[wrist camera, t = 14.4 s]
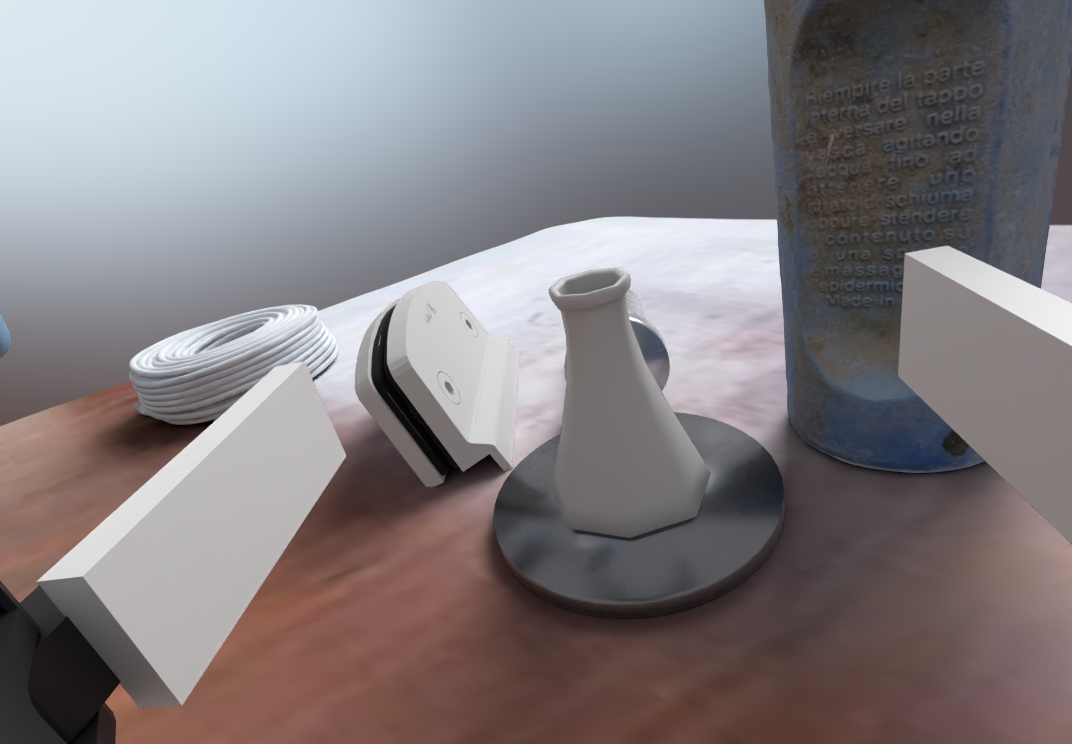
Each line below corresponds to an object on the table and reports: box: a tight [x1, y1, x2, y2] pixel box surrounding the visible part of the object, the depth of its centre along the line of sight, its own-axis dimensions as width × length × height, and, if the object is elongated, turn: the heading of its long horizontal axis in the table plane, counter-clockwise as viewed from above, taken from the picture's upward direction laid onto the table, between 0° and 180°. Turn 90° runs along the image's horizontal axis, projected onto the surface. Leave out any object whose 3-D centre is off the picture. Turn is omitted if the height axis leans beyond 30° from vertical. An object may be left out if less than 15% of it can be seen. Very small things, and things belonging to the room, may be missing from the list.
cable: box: [129, 305, 339, 425], centre depth 55 cm, size 18×18×6 cm
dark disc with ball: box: [494, 289, 785, 619], centre depth 31 cm, size 13×26×6 cm, turn 174°
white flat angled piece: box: [355, 281, 520, 487], centre depth 38 cm, size 17×5×10 cm, turn 0°
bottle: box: [764, 0, 1072, 473], centre depth 22 cm, size 10×10×30 cm
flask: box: [548, 267, 711, 538], centre depth 24 cm, size 7×7×10 cm
